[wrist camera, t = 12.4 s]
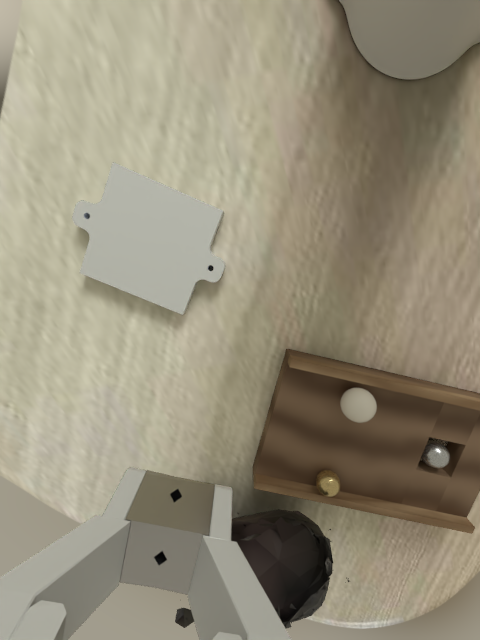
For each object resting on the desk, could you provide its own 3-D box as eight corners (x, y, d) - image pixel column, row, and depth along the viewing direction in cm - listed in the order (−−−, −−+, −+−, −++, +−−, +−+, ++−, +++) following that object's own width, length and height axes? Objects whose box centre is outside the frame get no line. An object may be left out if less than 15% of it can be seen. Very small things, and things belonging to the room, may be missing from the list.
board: (286, 348, 38) (291, 359, 34) (502, 398, 39) (531, 414, 35) (252, 466, 41) (254, 488, 37) (450, 508, 43) (472, 533, 39)
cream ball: (341, 378, 36) (353, 393, 32) (372, 385, 36) (388, 401, 32) (331, 407, 37) (342, 425, 33) (361, 414, 37) (376, 433, 33)
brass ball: (317, 462, 38) (323, 479, 35) (338, 467, 38) (347, 484, 35) (310, 481, 39) (316, 500, 36) (332, 486, 39) (339, 504, 36)
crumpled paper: (194, 562, 44) (324, 548, 45) (178, 699, 29) (371, 675, 30) (185, 476, 42) (321, 463, 43) (164, 576, 28) (369, 554, 28)
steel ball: (451, 455, 36) (456, 447, 39) (422, 438, 38) (428, 432, 41) (440, 477, 37) (446, 469, 39) (412, 460, 39) (419, 453, 42)
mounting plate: (68, 264, 36) (58, 264, 34) (99, 157, 33) (90, 152, 31) (204, 319, 37) (202, 322, 35) (243, 221, 35) (244, 219, 33)
